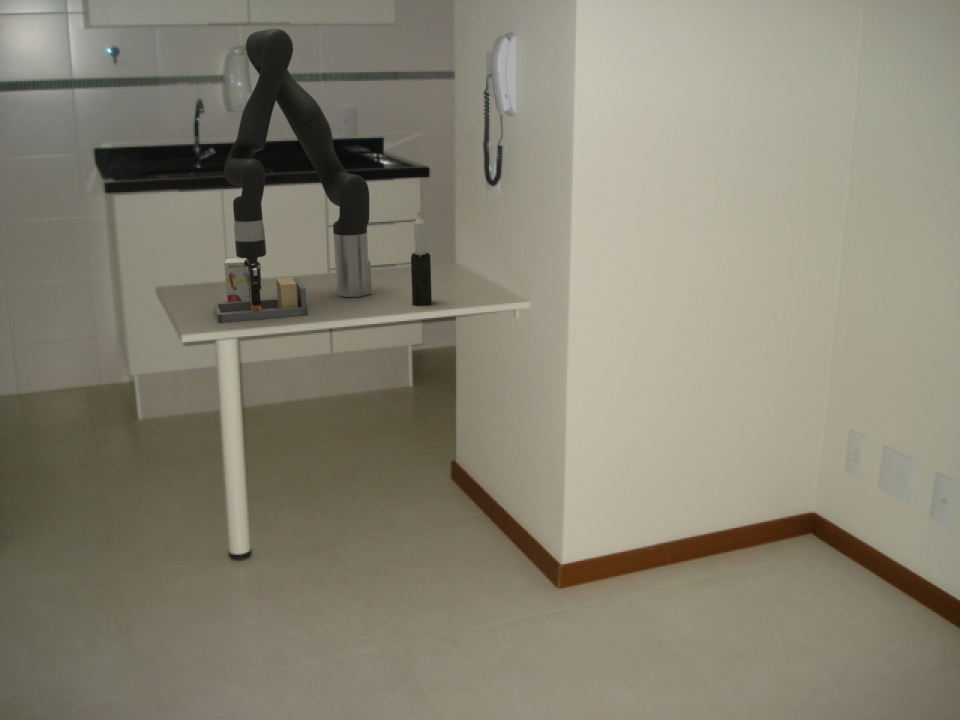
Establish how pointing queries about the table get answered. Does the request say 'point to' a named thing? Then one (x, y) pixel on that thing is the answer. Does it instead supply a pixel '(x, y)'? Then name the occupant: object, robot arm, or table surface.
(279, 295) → the kraft carton
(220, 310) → the grey shallow tray
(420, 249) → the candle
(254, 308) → the pusher
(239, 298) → the ink box
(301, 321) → the table surface
